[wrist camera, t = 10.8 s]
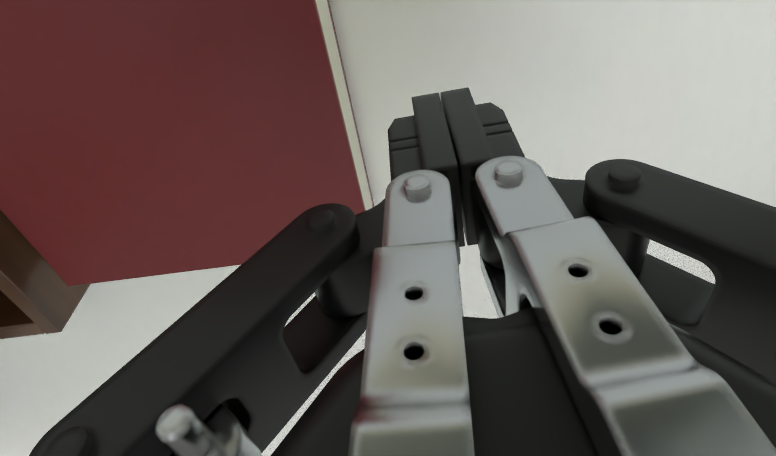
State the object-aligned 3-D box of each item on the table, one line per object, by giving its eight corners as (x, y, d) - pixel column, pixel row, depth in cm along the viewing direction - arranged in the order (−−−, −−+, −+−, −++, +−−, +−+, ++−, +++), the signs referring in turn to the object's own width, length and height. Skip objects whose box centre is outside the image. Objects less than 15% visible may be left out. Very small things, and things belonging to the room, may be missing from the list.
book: (97, 241, 24) (68, 286, 22) (-335, -331, 12) (-508, -366, 9) (373, 204, 23) (373, 247, 20) (222, -479, 10) (178, -561, 8)
